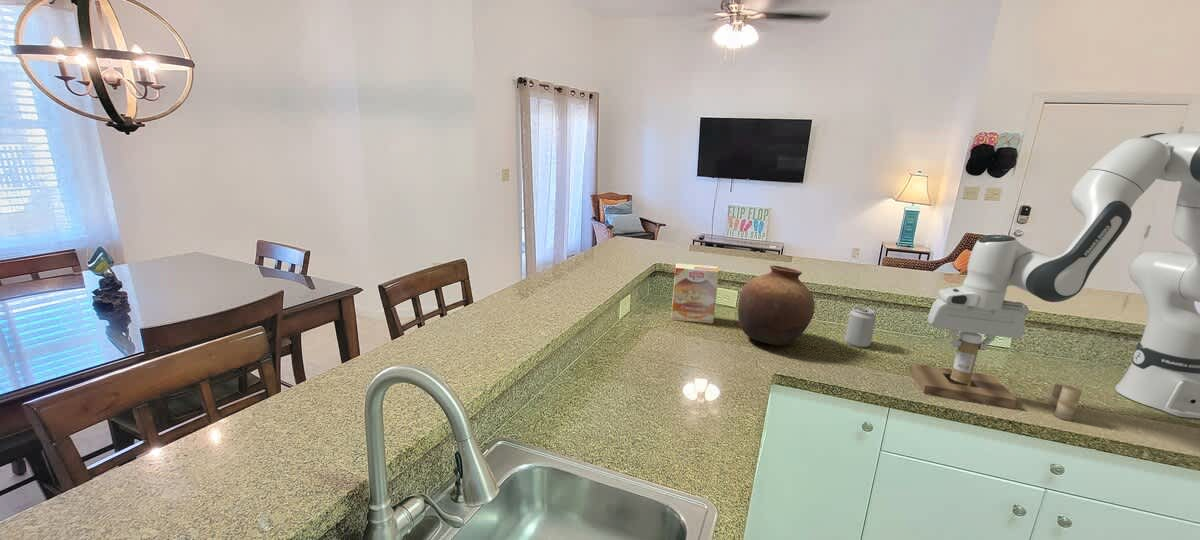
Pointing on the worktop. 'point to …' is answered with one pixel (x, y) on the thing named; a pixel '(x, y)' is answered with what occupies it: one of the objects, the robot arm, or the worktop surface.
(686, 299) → the coffeecake box
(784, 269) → the pottery
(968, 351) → the sprinkles bottle
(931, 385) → the walnut board
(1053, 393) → the short beech dowel
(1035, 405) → the worktop surface
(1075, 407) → the medium beech dowel
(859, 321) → the can
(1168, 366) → the robot arm
